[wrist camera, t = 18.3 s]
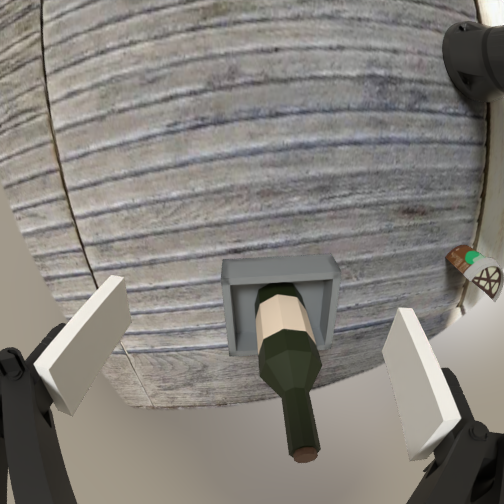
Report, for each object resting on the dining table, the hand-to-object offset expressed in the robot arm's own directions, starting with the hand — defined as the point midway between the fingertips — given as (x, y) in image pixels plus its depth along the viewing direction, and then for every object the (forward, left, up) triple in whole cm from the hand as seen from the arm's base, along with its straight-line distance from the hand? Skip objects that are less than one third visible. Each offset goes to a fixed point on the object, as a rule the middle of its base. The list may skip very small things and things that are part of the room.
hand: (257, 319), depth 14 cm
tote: (-5, +23, -34) cm, 41 cm away
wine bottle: (-5, +23, -34) cm, 41 cm away
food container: (-44, +17, -35) cm, 58 cm away
